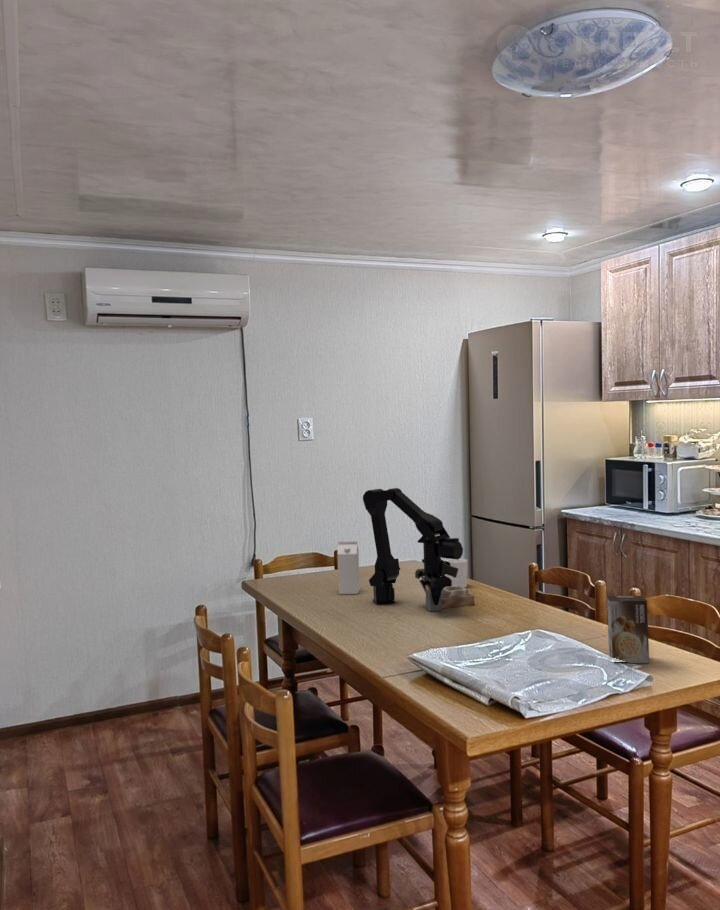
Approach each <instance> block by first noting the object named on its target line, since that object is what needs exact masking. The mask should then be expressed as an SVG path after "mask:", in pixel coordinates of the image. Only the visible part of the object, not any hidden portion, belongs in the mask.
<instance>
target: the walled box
mask: <svg viewBox="0 0 720 910" xmlns="http://www.w3.org/2000/svg"><path fill="white" fill-rule="evenodd" d="M441 599H442V609H449V608H458V607H460V608H461V607H469V606H475V596H474V595H473V594H471V593H470V592H469V589H468V588H467V587H466V588H464V587H462V586H460V585H459V586H450V587H445V588H443V589H442V592H441Z"/></svg>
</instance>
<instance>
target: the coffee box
mask: <svg viewBox="0 0 720 910" xmlns="http://www.w3.org/2000/svg"><path fill="white" fill-rule="evenodd" d="M606 601H607V602H606V603H607V607H606V608H607V631H608V632H607V635H608V636H607V637H608V638H607V639H608V656H609V657H610V656H611V657H612V658H616V659H619V660H622V661H625V662H628V663H627V664H650V646H649V645H650V644H649V622H648V621H649V618H648V617H649V616H648V600H647V599H646V598H645V597H644V596H643V595H624V594H623V595H622V594H618V595H616V594H615V595H610V594H609V595H606Z"/></svg>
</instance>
